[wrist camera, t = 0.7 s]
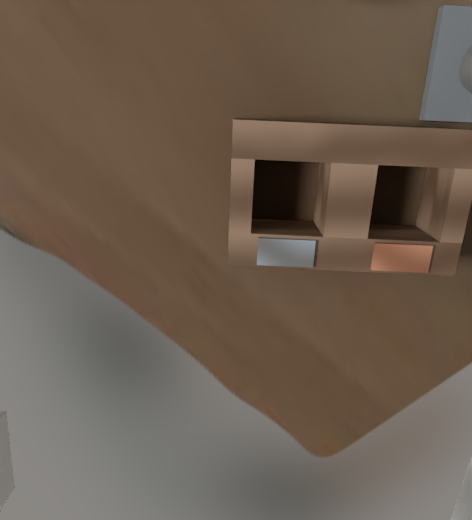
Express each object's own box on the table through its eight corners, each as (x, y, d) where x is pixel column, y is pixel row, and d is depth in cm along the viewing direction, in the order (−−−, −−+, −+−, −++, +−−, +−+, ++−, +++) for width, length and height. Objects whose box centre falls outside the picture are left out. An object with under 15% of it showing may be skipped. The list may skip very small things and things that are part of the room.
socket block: (234, 118, 35) (232, 119, 30) (454, 128, 35) (489, 130, 30) (229, 249, 39) (227, 269, 34) (428, 258, 39) (455, 280, 34)
